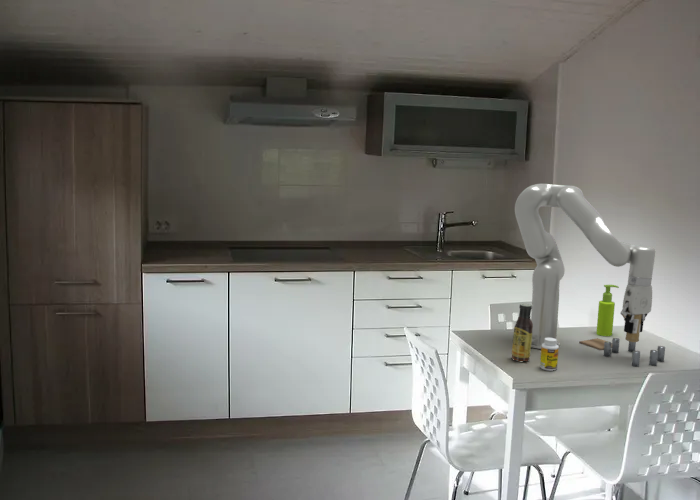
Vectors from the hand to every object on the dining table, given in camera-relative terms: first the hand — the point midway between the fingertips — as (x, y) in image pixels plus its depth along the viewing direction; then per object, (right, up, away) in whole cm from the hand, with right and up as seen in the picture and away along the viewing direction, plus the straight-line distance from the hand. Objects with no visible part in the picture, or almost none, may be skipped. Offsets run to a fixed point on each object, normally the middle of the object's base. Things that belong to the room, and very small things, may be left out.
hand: (633, 331), depth 246 cm
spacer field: (+1, -10, +1) cm, 10 cm away
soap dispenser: (+2, -5, +31) cm, 32 cm away
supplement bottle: (-33, -11, -12) cm, 37 cm away
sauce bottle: (-40, -10, -4) cm, 42 cm away
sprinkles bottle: (0, -4, +1) cm, 4 cm away
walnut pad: (-6, -7, +17) cm, 19 cm away
